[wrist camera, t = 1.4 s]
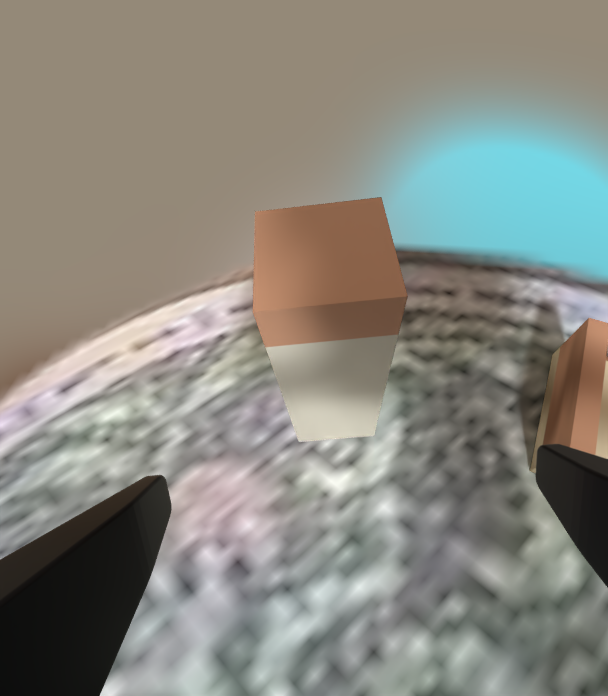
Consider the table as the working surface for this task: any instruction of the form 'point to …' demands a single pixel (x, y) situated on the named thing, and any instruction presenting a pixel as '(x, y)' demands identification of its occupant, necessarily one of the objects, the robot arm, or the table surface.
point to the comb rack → (577, 394)
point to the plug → (329, 312)
